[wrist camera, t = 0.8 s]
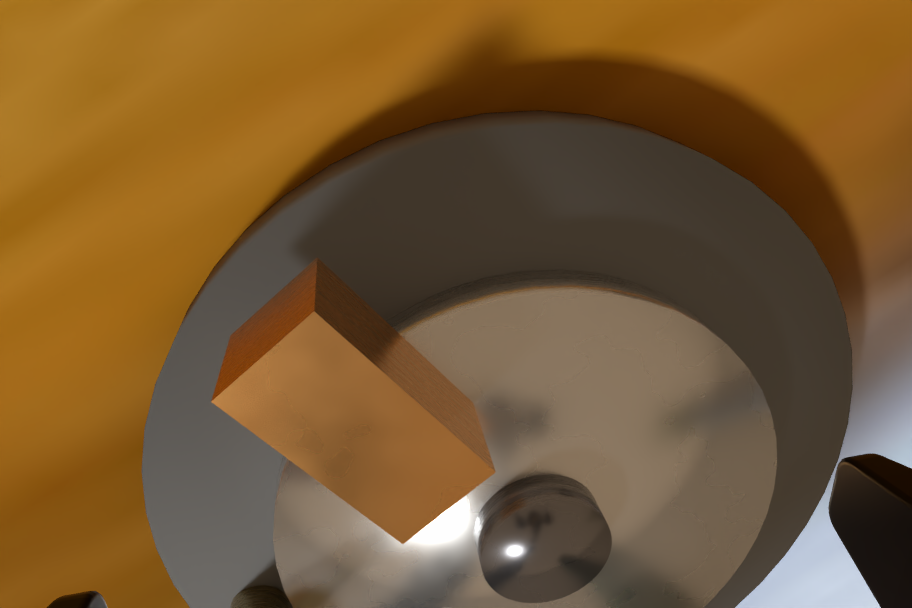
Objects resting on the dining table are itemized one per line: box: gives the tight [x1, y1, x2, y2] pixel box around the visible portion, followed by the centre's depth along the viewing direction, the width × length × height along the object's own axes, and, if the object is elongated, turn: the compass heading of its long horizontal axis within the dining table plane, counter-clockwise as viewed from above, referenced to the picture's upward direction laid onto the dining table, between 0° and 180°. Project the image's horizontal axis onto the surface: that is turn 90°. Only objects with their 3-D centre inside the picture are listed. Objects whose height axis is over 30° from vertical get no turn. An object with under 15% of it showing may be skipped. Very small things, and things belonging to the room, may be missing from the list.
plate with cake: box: [211, 257, 777, 608], centre depth 20 cm, size 19×16×5 cm
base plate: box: [142, 111, 852, 608], centre depth 24 cm, size 24×24×2 cm
